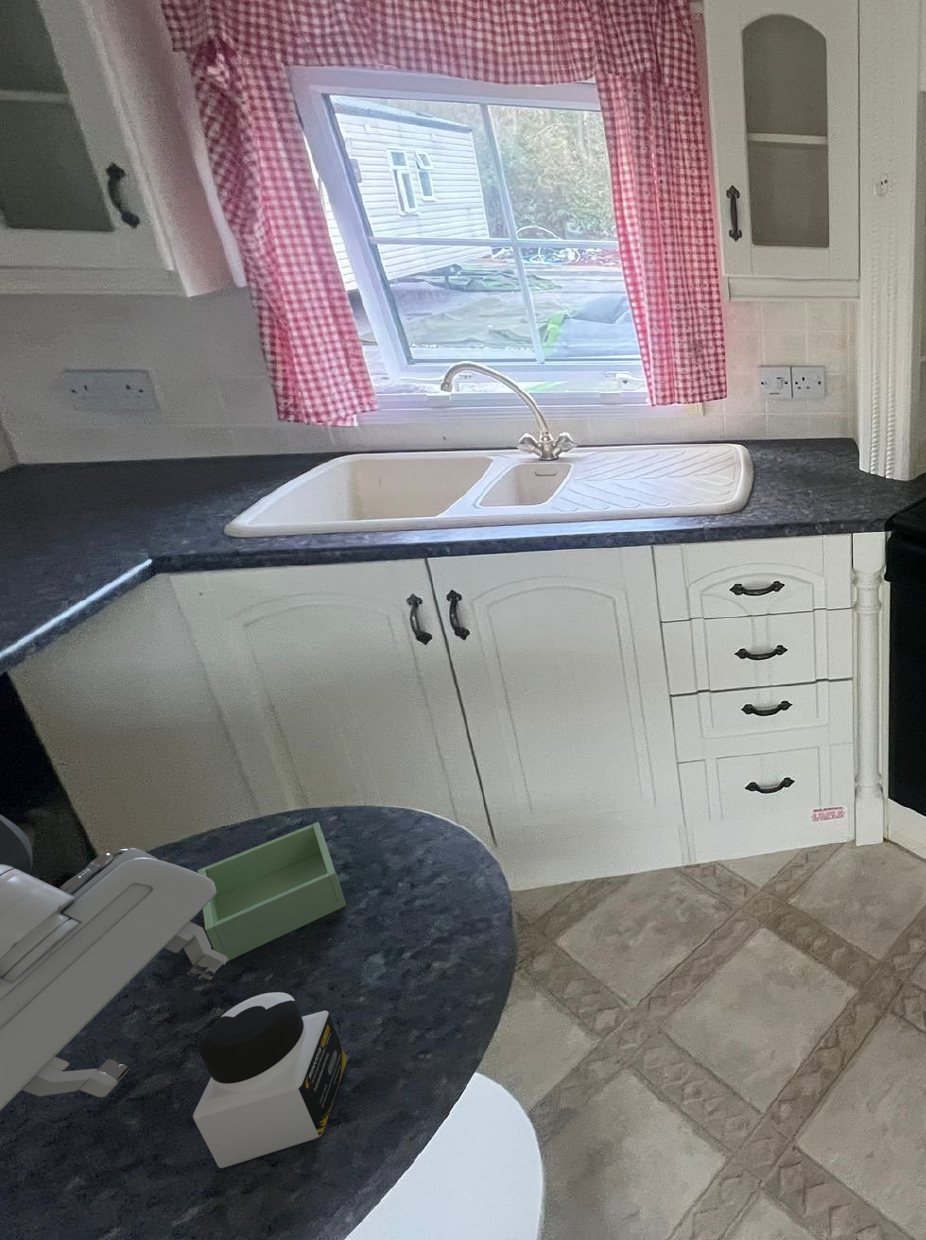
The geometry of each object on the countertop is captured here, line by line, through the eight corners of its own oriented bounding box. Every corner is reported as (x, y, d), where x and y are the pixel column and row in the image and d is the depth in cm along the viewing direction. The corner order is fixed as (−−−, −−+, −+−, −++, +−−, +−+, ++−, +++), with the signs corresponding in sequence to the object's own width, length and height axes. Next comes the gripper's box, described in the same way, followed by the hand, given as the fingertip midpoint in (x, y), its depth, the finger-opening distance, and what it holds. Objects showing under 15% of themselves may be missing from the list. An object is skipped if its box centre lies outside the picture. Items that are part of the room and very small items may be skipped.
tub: (220, 964, 81) (205, 930, 80) (212, 902, 88) (197, 869, 86) (346, 905, 89) (335, 873, 87) (329, 852, 95) (318, 821, 94)
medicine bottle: (322, 1138, 67) (282, 1045, 63) (217, 1171, 64) (168, 1077, 60) (348, 1059, 73) (314, 969, 69) (254, 1086, 71) (212, 995, 66)
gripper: (100, 859, 70) (250, 933, 74) (-200, 1104, 51) (24, 1184, 55) (135, 820, 68) (285, 897, 73) (-160, 1056, 50) (67, 1141, 54)
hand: (171, 1023), depth 64 cm, fingers open, 8 cm apart
